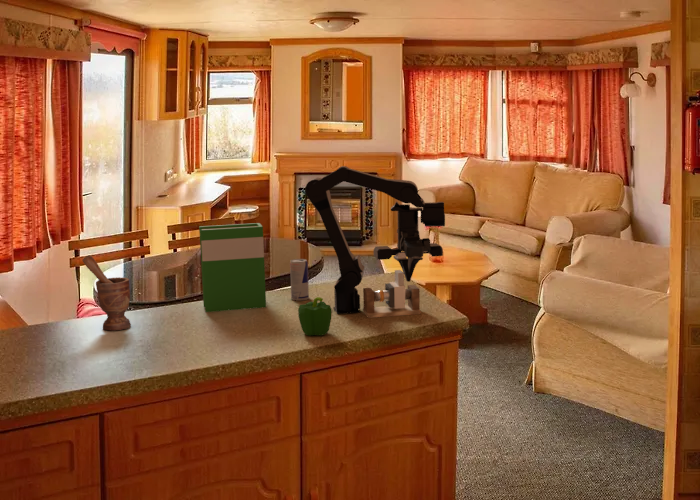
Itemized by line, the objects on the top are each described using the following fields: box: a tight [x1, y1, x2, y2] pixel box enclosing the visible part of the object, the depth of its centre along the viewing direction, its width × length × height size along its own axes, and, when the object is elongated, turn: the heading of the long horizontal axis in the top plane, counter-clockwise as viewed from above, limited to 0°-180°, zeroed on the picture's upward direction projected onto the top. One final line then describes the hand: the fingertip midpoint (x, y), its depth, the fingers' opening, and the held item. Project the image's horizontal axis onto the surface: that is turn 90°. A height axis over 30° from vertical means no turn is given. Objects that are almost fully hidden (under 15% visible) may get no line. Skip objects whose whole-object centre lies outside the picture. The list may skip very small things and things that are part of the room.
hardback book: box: [198, 222, 267, 313], centre depth 226 cm, size 18×7×24 cm, turn 104°
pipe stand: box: [362, 284, 421, 318], centre depth 218 cm, size 15×7×7 cm, turn 101°
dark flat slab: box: [384, 283, 394, 308], centre depth 217 cm, size 1×6×6 cm, turn 11°
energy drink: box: [289, 258, 310, 302], centre depth 235 cm, size 5×5×12 cm
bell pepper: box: [297, 297, 332, 337], centre depth 198 cm, size 8×8×10 cm
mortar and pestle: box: [82, 255, 132, 331], centre depth 207 cm, size 12×9×20 cm
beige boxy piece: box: [388, 269, 406, 309], centre depth 217 cm, size 3×6×10 cm, turn 11°
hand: (408, 281), depth 218 cm, fingers closed
